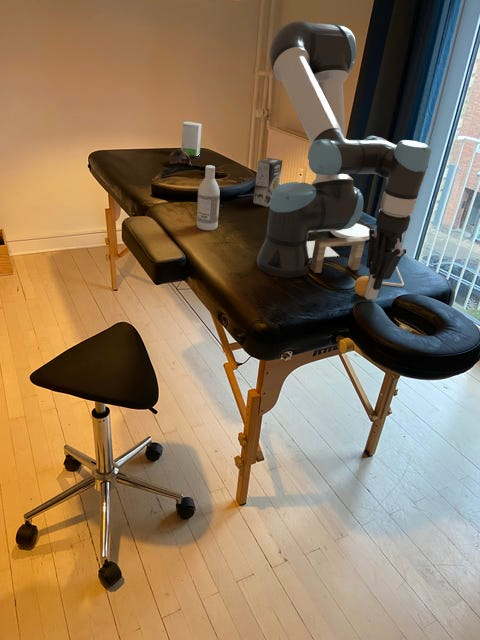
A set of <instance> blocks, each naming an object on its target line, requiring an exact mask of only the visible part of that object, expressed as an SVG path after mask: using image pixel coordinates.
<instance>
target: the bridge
mask: <svg viewBox="0 0 480 640" xmlns="http://www.w3.org/2000/svg"><path fill="white" fill-rule="evenodd" d="M314 241H315V245H314V250H313V256H312V258H311V262H310V265H309V268H310V269H309V270H311V271H312V272H313V273H314V274H316V273H317V274H319V273H321V272H322V268H323V264H324V259H325V257H324V254H325V249H326V247H330V248H332V247H345V246H346V247H348V246H351V250H350V253H349V258H348V261H347V267H348V268H350V269H351V270H352V271H358V270H359V269H360V266H361V261H362V257H363V253H364V249H365V246H366V245H365V243H366V241H365V240H364V239H362V238H361V237H344V238H339V237H330V238H329V237H328V238H327V237H326V238H325V237H324V238H315V239H314Z"/></svg>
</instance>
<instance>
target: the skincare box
mask: <svg viewBox="0 0 480 640" xmlns="http://www.w3.org/2000/svg"><path fill="white" fill-rule="evenodd" d="M202 126H203V125H202V123H198V122H194V121H184V122H182V128H181V129H182V133H181V148H180V149H182V150H183V151H184V152H186V153H187V154H188V155H194V156H198V155H199V154H200V152H201V140H202V138H201V137H202V128H203V127H202ZM199 156H200V155H199Z"/></svg>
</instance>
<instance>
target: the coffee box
mask: <svg viewBox="0 0 480 640" xmlns="http://www.w3.org/2000/svg"><path fill="white" fill-rule="evenodd" d="M282 166H283V160H282V159H278V158H273V157H272V158H271V157H266V158H263V159H261V160H258V161H257V168H256V177H255V185H254V195H253V203H254V204H255V205H259V206H263V207H269V204H270V201H271V196H272V192H273V190H274V189H275V188H276V187H277V186H279V185H280V182H281V175H282V173H281V172H282V168H283V167H282Z"/></svg>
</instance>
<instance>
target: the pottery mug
mask: <svg viewBox="0 0 480 640" xmlns="http://www.w3.org/2000/svg"><path fill="white" fill-rule="evenodd" d="M175 155H176V157H174V156H175ZM168 158H169V165H170V164H172V165H175V164H178V163H180V164H182V163H183V162H185V161H186V162H188V163H189V164H188V165H190V164H191V165H192V163H191V161H192V160H191V158H190V157H189V155H188V154H187V153H186V152H184V151H183V150H182V149H181V148H180V149H178V148H177V149H176V150H173V151H172V152H171V153H170V154H169V157H168ZM181 161H183V162H181Z"/></svg>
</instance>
